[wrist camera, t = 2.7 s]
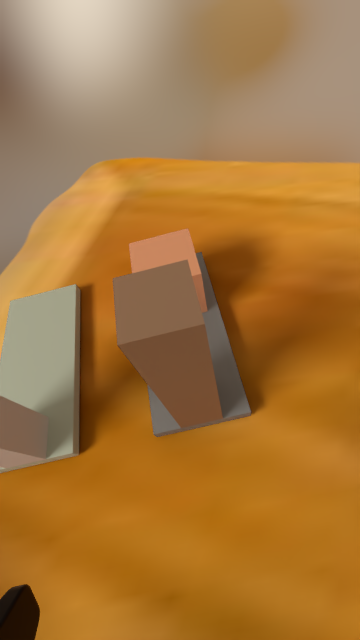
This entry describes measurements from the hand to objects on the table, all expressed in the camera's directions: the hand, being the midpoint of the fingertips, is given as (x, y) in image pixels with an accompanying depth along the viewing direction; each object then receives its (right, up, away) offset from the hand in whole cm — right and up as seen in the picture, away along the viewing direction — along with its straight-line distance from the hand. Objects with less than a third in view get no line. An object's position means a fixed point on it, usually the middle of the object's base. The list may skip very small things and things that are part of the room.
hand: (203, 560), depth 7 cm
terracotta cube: (-1, +8, +20) cm, 21 cm away
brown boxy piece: (0, +5, +19) cm, 19 cm away
